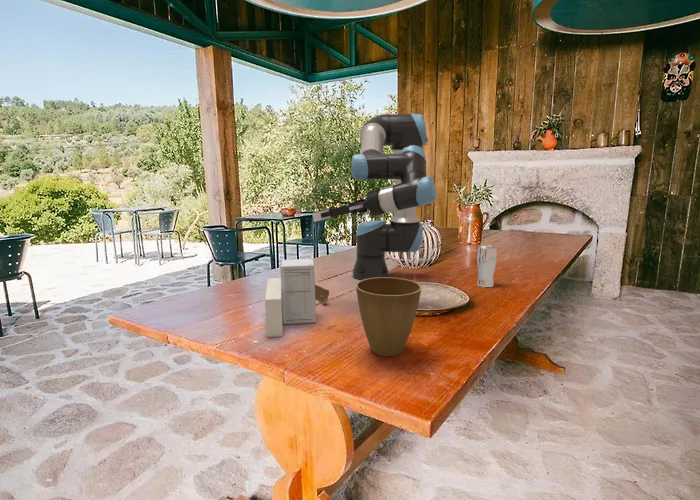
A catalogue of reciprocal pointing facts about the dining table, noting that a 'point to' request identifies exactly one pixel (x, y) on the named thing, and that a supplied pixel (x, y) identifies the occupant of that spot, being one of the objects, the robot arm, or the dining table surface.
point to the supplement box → (298, 291)
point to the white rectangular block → (273, 308)
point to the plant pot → (387, 312)
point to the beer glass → (486, 265)
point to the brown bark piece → (321, 294)
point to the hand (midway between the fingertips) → (314, 217)
